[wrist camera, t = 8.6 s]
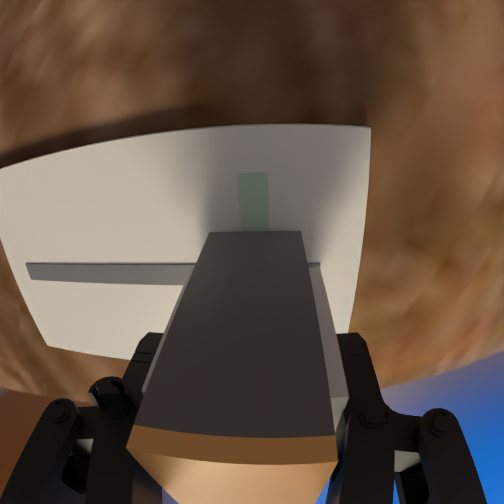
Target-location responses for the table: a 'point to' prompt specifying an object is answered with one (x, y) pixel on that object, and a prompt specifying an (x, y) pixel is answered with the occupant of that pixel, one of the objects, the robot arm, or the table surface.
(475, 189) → the table surface
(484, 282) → the table surface
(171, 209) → the fader console
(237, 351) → the lever
